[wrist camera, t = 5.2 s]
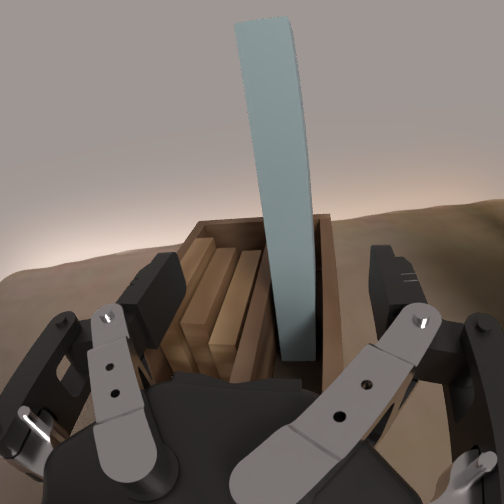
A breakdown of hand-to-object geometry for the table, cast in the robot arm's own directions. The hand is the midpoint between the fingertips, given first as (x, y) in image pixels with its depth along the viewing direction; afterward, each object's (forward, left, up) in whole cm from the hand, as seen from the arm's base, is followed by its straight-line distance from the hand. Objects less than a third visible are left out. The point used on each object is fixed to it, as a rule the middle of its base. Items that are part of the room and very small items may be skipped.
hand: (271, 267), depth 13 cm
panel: (0, +10, -15) cm, 18 cm away
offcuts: (-7, +10, -15) cm, 20 cm away
